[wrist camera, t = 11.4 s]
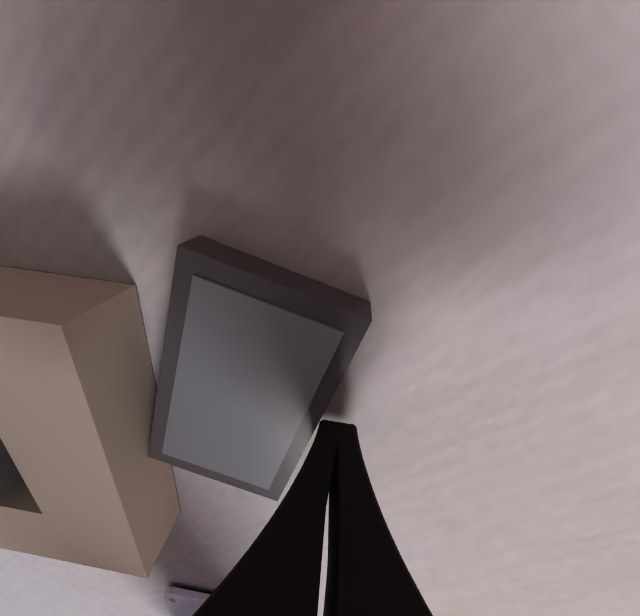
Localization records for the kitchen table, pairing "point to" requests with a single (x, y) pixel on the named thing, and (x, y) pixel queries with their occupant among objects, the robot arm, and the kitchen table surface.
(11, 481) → the block
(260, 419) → the phone
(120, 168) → the kitchen table surface
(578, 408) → the kitchen table surface
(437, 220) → the kitchen table surface
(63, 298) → the outlet plate
